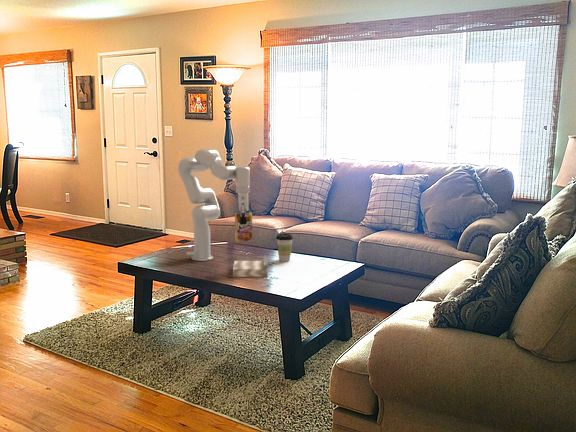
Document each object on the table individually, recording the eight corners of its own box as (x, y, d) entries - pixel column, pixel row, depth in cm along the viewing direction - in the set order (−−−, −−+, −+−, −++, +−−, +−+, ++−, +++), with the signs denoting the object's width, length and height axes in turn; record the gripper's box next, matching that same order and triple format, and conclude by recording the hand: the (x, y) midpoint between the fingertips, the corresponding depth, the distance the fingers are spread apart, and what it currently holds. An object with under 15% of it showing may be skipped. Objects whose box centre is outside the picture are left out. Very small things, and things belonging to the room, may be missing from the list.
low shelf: (232, 276, 298) (232, 264, 297) (234, 267, 316) (234, 256, 315) (267, 276, 299) (267, 264, 298) (267, 267, 317) (267, 256, 316)
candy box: (236, 241, 308) (235, 213, 305) (234, 240, 312) (234, 212, 310) (252, 241, 310) (252, 213, 308) (251, 239, 314) (250, 212, 312)
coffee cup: (273, 261, 331) (273, 236, 329) (279, 257, 340) (280, 233, 338) (289, 263, 328) (289, 237, 325) (295, 259, 337) (295, 234, 334)
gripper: (249, 191, 298) (250, 225, 301) (249, 187, 315) (250, 220, 318) (235, 191, 298) (236, 226, 301) (236, 188, 315) (236, 220, 317)
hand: (243, 222), depth 309 cm, fingers closed on candy box, 4 cm apart
